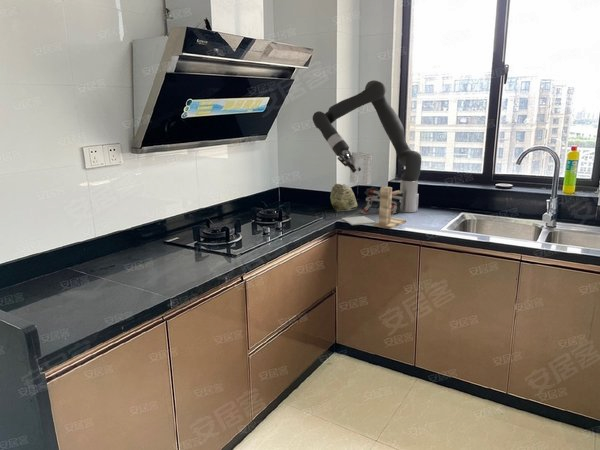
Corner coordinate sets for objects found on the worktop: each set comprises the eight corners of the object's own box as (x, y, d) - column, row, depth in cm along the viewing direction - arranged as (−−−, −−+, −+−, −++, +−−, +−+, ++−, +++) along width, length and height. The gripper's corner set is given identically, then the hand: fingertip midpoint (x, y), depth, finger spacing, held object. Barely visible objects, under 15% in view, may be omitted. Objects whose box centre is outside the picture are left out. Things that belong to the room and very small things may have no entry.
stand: (390, 219, 229) (392, 182, 224) (406, 222, 223) (408, 184, 219) (373, 226, 216) (374, 187, 211) (389, 229, 211) (391, 189, 206)
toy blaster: (398, 220, 240) (405, 193, 237) (360, 213, 240) (366, 186, 236) (396, 218, 244) (403, 192, 240) (359, 211, 243) (365, 185, 240)
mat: (364, 217, 234) (364, 216, 233) (375, 223, 222) (376, 221, 221) (341, 219, 230) (341, 218, 229) (352, 225, 218) (352, 224, 217)
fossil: (327, 210, 248) (327, 184, 244) (347, 205, 261) (348, 180, 257) (340, 213, 242) (340, 186, 238) (359, 208, 255) (360, 182, 251)
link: (349, 182, 222) (351, 152, 218) (353, 181, 225) (355, 151, 221) (367, 184, 216) (368, 153, 212) (370, 183, 219) (372, 153, 215)
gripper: (334, 140, 217) (354, 167, 212) (350, 139, 227) (369, 164, 223) (325, 150, 221) (344, 177, 217) (341, 148, 232) (360, 174, 228)
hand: (357, 170), depth 220 cm, fingers closed on link, 3 cm apart
